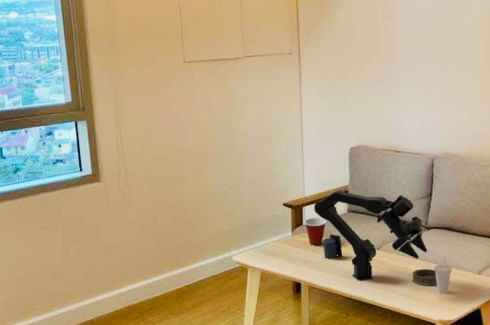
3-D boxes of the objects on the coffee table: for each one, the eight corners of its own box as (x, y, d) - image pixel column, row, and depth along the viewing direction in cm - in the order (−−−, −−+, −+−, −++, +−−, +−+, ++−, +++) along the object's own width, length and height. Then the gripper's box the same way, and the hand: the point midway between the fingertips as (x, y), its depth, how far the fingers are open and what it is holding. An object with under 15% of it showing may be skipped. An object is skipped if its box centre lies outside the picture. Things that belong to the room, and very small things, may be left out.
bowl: (422, 287, 248) (422, 280, 248) (406, 278, 259) (406, 271, 259) (448, 283, 251) (448, 276, 251) (431, 274, 262) (431, 267, 262)
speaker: (334, 253, 295) (333, 232, 292) (342, 256, 290) (341, 235, 287) (321, 257, 291) (320, 236, 289) (329, 261, 287) (327, 240, 284)
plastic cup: (303, 247, 306) (303, 223, 305) (305, 241, 317) (304, 217, 315) (326, 247, 305) (326, 223, 303) (327, 241, 315) (326, 217, 313)
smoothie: (448, 295, 239) (449, 260, 237) (431, 293, 242) (432, 258, 240) (453, 290, 244) (453, 255, 242) (436, 287, 248) (436, 253, 245)
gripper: (400, 216, 238) (428, 249, 234) (417, 206, 253) (444, 236, 249) (380, 234, 244) (408, 266, 240) (398, 223, 259) (425, 252, 255)
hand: (422, 254), depth 246 cm, fingers open, 9 cm apart
